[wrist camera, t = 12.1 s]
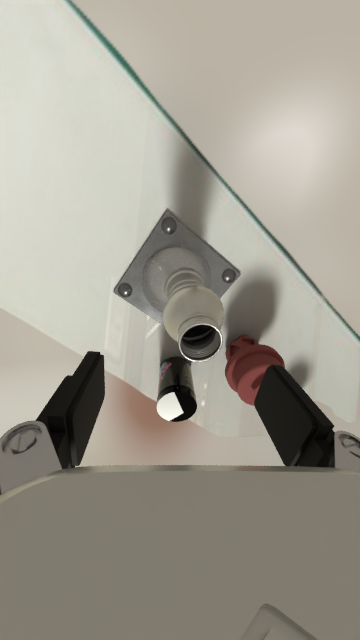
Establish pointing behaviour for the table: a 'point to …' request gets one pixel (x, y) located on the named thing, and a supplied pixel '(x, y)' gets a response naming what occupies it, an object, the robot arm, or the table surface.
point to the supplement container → (176, 390)
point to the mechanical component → (248, 366)
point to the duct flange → (171, 267)
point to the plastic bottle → (193, 315)
